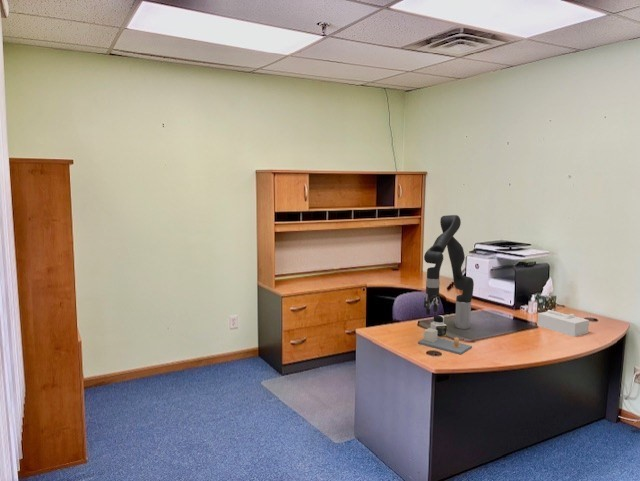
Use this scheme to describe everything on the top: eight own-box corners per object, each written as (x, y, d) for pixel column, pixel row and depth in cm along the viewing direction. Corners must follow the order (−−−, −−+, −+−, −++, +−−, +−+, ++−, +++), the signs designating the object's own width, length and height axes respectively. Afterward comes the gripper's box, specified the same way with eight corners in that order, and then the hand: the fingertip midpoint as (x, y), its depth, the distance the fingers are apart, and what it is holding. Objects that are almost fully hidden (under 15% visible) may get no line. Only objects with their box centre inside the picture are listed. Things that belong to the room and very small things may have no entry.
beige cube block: (428, 337, 281) (429, 328, 280) (437, 340, 277) (437, 330, 276) (423, 340, 277) (424, 330, 276) (432, 342, 273) (432, 332, 272)
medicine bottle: (435, 337, 286) (436, 317, 284) (430, 333, 293) (430, 314, 291) (446, 336, 288) (447, 317, 286) (440, 332, 295) (441, 313, 293)
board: (430, 337, 285) (430, 327, 284) (471, 348, 268) (472, 337, 267) (418, 343, 275) (418, 333, 274) (460, 354, 257) (461, 343, 257)
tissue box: (574, 337, 288) (575, 319, 287) (537, 326, 310) (538, 309, 308) (588, 333, 296) (589, 316, 294) (551, 323, 317) (552, 307, 316)
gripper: (432, 282, 281) (431, 309, 283) (420, 286, 270) (419, 314, 272) (444, 284, 276) (443, 312, 278) (432, 288, 265) (431, 317, 267)
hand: (431, 313), depth 275 cm, fingers open, 8 cm apart
